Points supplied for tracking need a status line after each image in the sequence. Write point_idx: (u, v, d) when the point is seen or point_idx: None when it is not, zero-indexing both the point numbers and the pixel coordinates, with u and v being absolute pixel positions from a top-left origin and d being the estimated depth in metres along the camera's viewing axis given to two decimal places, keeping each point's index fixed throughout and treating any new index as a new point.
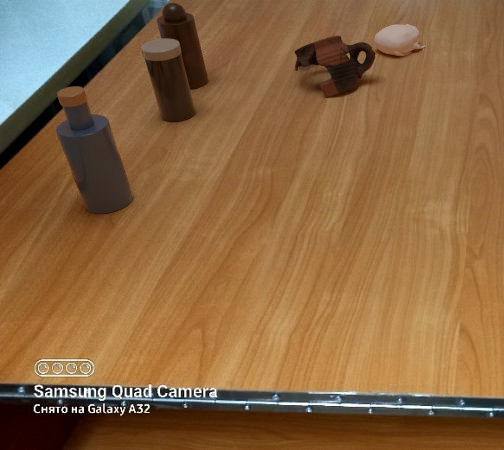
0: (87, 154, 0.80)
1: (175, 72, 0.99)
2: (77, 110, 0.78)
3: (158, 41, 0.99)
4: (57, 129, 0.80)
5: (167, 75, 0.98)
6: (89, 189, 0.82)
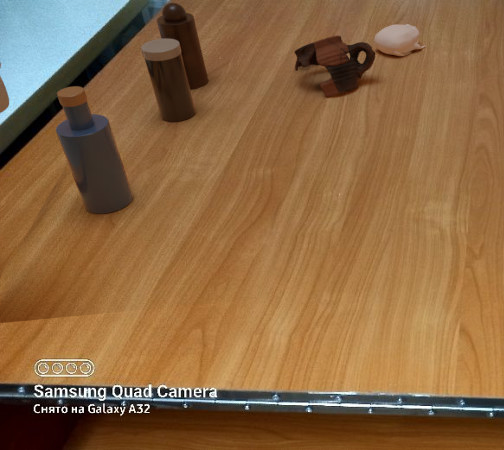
0: (87, 154, 0.80)
1: (175, 72, 0.99)
2: (77, 110, 0.78)
3: (158, 41, 0.99)
4: (57, 129, 0.80)
5: (167, 75, 0.98)
6: (89, 189, 0.82)
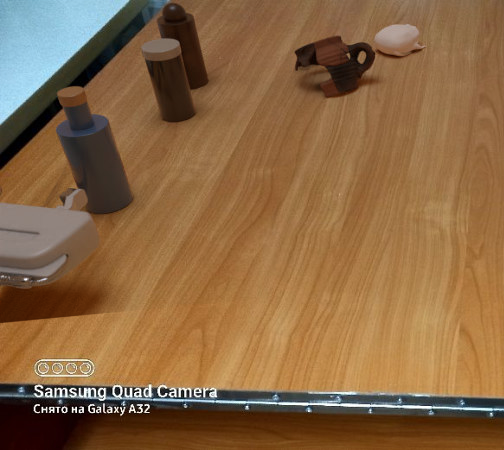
0: (87, 154, 0.80)
1: (175, 72, 0.99)
2: (77, 110, 0.78)
3: (158, 41, 0.99)
4: (57, 129, 0.80)
5: (167, 75, 0.98)
6: (89, 189, 0.82)
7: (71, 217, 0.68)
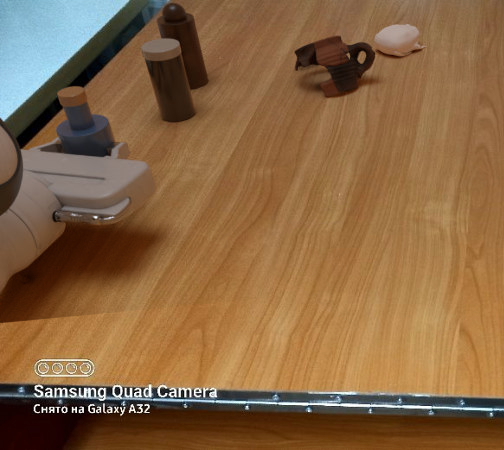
0: (87, 154, 0.80)
1: (175, 72, 0.99)
2: (77, 110, 0.78)
3: (158, 41, 0.99)
4: (57, 129, 0.80)
5: (167, 75, 0.98)
6: None
7: (132, 165, 0.76)
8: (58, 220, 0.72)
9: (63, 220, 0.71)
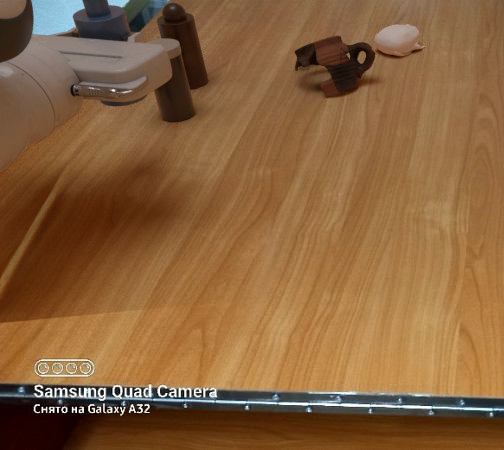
0: None
1: (175, 72, 0.99)
2: None
3: (158, 41, 0.99)
4: (74, 16, 0.80)
5: None
6: None
7: (148, 47, 0.77)
8: (76, 94, 0.72)
9: (81, 93, 0.72)
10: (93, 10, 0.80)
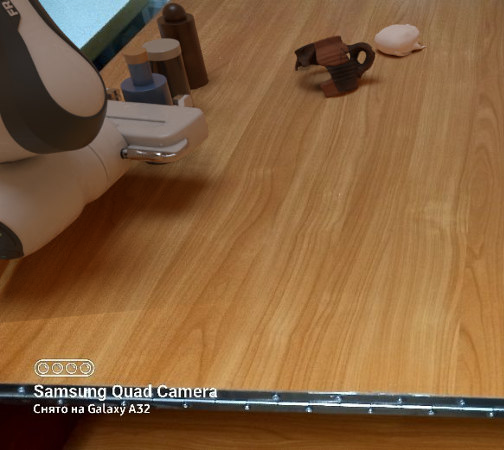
0: None
1: (175, 72, 0.99)
2: (140, 67, 0.87)
3: (158, 41, 0.99)
4: (121, 85, 0.89)
5: (167, 75, 0.98)
6: None
7: (188, 111, 0.85)
8: (125, 157, 0.80)
9: (130, 157, 0.80)
10: (139, 80, 0.88)
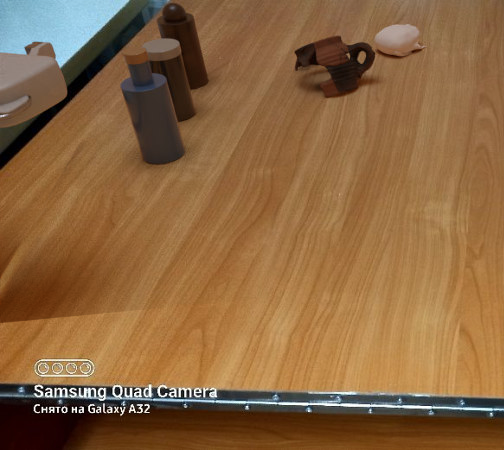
0: (148, 108, 0.89)
1: (175, 72, 0.99)
2: (140, 67, 0.87)
3: (158, 41, 0.99)
4: (121, 85, 0.89)
5: (167, 75, 0.98)
6: (149, 140, 0.91)
7: (35, 60, 0.63)
8: None
9: None
10: (139, 80, 0.88)
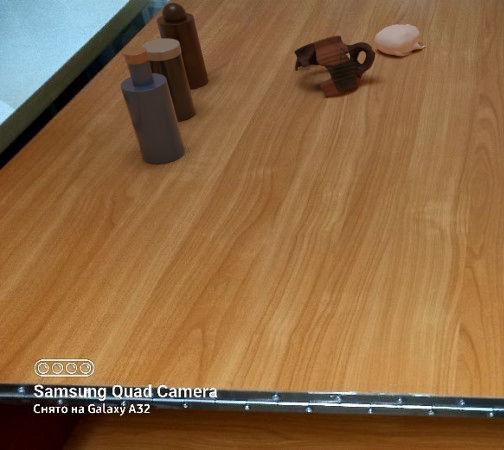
0: (148, 108, 0.89)
1: (175, 72, 0.99)
2: (140, 67, 0.87)
3: (158, 41, 0.99)
4: (121, 85, 0.89)
5: (167, 75, 0.98)
6: (149, 140, 0.91)
7: None
8: None
9: None
10: (139, 80, 0.88)
